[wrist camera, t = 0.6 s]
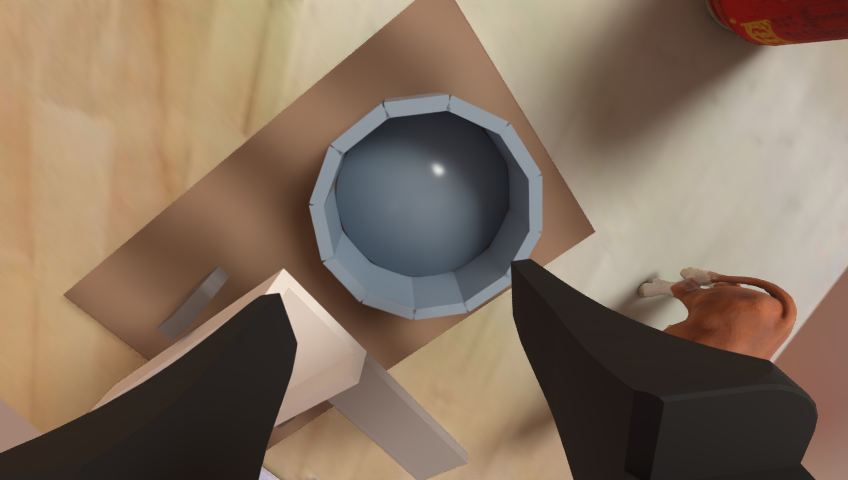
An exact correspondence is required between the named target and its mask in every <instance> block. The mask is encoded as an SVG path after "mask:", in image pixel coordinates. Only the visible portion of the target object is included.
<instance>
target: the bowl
mask: <svg viewBox="0 0 848 480" xmlns="http://www.w3.org/2000/svg"><path fill="white" fill-rule="evenodd" d="M449 111H450V112H449ZM472 122H474V123H476V124H478V125H480V126H482V127H483V128H484V129H485V131H486V133H487V134H488V135H487V134H486V133H485V132H484V131H483V130H481V129H480V128H479V127H478V126H476V125H475V124H474V123H472ZM489 137H490V138H489ZM348 149H349V151H348V153H347V154H346V152H347V150H348ZM345 155H346V156H345ZM501 155H502V156H501ZM344 157H345V159H344ZM502 157H503V158H504V160H505V162H506V163H507V169H508V175H507V171H506V166H505V164H504V161H503V159H502ZM343 160H344V161H343ZM340 168H341V169H340ZM339 171H340V172H339ZM338 174H339V175H338ZM540 174H541V171H540V170H539V168H538V167H537V165H536V163H535V162H534V160H533V159H532V157H531V155H530V154H529V152H528V151H527V149H526V147H525V146H524V144H523V143H522V141H521V139H520V138H519V136H518V135H517V133H516V131H515V130H514V128H513V127H512V125H511V124H510V123H508V121H506V120H504V119H501V118H499V117H497V116H495V115H493V114H491V113H489V112H487V111H484V110H482V109H480V108H478V107H476V106H474V105H472V104H470V103H467V102H465V101H463V100H461V99H459V98H457V97H455V96H453V95H449V94H445V93H440V92H437V93H428V94H420V95H412V96H404V97H395V98H387V99H385V101H383V100H382V101H380V102H379V103H378V104H377V105H375V106H374V107H373V108H372V109H370V110H369V111H368V112H367V113H365V114H364V115H363V116H362V117H360V118H359V119H358V120H357V121H355V122H354V123H353V124H352V125H350V126H349V127H348V128H347V129H345V130H344V131H343V132H342V133H340V135H339V136H338V137H337V138H336V139H335V140H334V141H333V142H332V143H331V145H330V146H329V148H328V151H327V154H326V157H325V160H324V162H323V165H322V168H321V171H320V174H319V177H318V180H317V182H316V185H315V188H314V191H313V194H312V197H311V200H310V202H309V203H310V205H309V208H310V212H311V217H312V221H313V226H314V230H315V234H316V239H317V243H318V248H319V252H320V256H321V261H323V260H324V261H323V264H324V265H325V266H326V267H327V268H328V269H329V270H330V271H331V272H332V273H333V274H334V275H335V277H336V278H337V279H338V280H339V281H340V282H341V283H342V284H343V285H344V286H345V287H346V288H347V289H348V290H349V291H350V292H351V293H352V294H353V295H354V297H355V298H356V299H357V300H358V301H359V302H360V301H362V304H365V305H368V306H371V307H374V308H377V309H380V310H383V311H386V312H389V313H392V314H395V315H399V316H402V317H405V318H408V319H411V320H412V319H413V317H414V319H415V320H420V319H427V318H434V317H441V316H448V315H456V314H463V313H467V310H468V311H469V312H470V311H472V310H473V309H475V308H476V307H478V306H479V305H481V304H482V303H484V302H485V301H487V300H488V299H490V298H491V297H493V296H494V295H496V294H497V293H499V292H500V291H502V290H503V289H505V288H506V287H508V286H509V285H511V262H510V261H516V260H523V259H528V257H529V256H530V254H531V252H532V250H533V248H534V247H535V245H536V243H537V241H538V240H539V238H540V236H541V233H540V231H542V175H540ZM337 177H338V181H337V191H336V195H335V190H334V185H335V182H336V179H337ZM508 200H509V209H508V211H507V206H508ZM506 211H507V213H506ZM505 214H506V215H505ZM341 222H342V225H343V227H344V230H345V232H346V233H347V235H348V236H347V235H346V234H345V233H344V231H343V230H342V225H341ZM490 243H491V244H490ZM489 244H490V246H489V247H488V245H489ZM487 247H488V248H487ZM486 248H487V249H486ZM368 259H369V260H371V261H372V262H374V263H375V264H374V263H371V262H370V261H369V260H368ZM376 264H377V265H376ZM455 269H456V270H455ZM453 270H455V271H453ZM450 271H452V272H450ZM407 275H409V276H407ZM410 276H415V277H410Z"/></svg>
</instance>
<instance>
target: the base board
mask: <svg viewBox="0 0 848 480" xmlns="http://www.w3.org/2000/svg"><path fill="white" fill-rule="evenodd" d="M437 92H440V93H445V94H449V95H453V96H455V97H457V98H459V99H461V100H463V101H465V102H467V103H470V104H472V105H474V106H476V107H478V108H480V109H482V110H484V111H487V112H489V113H491V114H493V115H495V116H497V117H499V118H501V119H504V120H506V121H508V123H510V124H511V125H512V127H513V128H514V130H515V131H516V133H517V135H518V136H519V138H520V139H521V141H522V143H523V144H524V146H525V147H526V149H527V151H528V152H529V154H530V155H531V157H532V159H533V160H534V162H535V163H536V165H537V167H538V168H539V170H540V171H541V174H540V175H542V231H540V233H541V236H540V238H539V240H538V241H537V243H536V245H535V247H534V248H533V250H532V252H531V254H530V256H529V257H528V259H532V260H533V261H535V262H536V263H538V264H539V265H540V266H542V267H543V266H545V265H546V264H548V263H549V262H551V261H552V260H554V259H555V258H557V257H558V256H560V255H561V254H563V253H564V252H566V251H567V250H569V249H570V248H572V247H573V246H575V245H576V244H578V243H579V242H581V241H582V240H584V239H585V238H587V237H588V236H590V235H591V234H593V233H594V232H595V230H594V229H593V227H592V225H591V224H590V222H589V220H588V219H587V217H586V216H585V214H584V212H583V211H582V209H581V207H580V206H579V204H578V202H577V201H576V199H575V197H574V196H573V194H572V192H571V191H570V189H569V187H568V186H567V184H566V183H565V181H564V179H563V178H562V176H561V174H560V173H559V171H558V169H557V168H556V166H555V164H554V163H553V161H552V159H551V158H550V156H549V154H548V153H547V151H546V150H545V148H544V146H543V145H542V143H541V141H540V140H539V138H538V136H537V135H536V133H535V131H534V130H533V128H532V126H531V125H530V123H529V121H528V120H527V118H526V117H525V115H524V113H523V112H522V110H521V108H520V107H519V105H518V103H517V102H516V100H515V98H514V97H513V95H512V93H511V92H510V90H509V88H508V87H507V85H506V84H505V82H504V80H503V79H502V77H501V75H500V74H499V72H498V70H497V69H496V67H495V65H494V64H493V62H492V60H491V59H490V57H489V55H488V54H487V52H486V51H485V49H484V47H483V46H482V44H481V42H480V41H479V39H478V37H477V36H476V34H475V32H474V31H473V29H472V27H471V26H470V24H469V22H468V21H467V19H466V18H465V16H464V14H463V13H462V11H461V9H460V8H459V6H458V4H457V3H456V1H455V0H415V1H414V2H413V3H412V4H410V5H409V6H408V7H407V8H406V9H404V10H403V11H402V12H401V13H400V14H398V15H397V16H396V17H395V18H394V19H392V20H391V21H390V22H389V23H388V24H386V25H385V26H384V27H383V28H382V29H380V30H379V31H378V32H377V33H376V34H374V35H373V36H372V37H371V38H370V39H368V40H367V41H366V42H365V43H364V44H363V45H361V46H360V47H359V48H358V49H357V50H355V51H354V52H353V53H352V54H351V55H349V56H348V57H347V58H346V59H345V60H343V61H342V62H341V63H340V64H339V65H337V66H336V67H335V68H334V69H333V70H331V71H330V72H329V73H328V74H327V75H325V76H324V77H323V78H322V79H321V80H319V81H318V82H317V83H316V84H315V85H313V86H312V87H311V88H310V89H309V90H308V91H306V92H305V93H304V94H303V95H302V96H300V97H299V98H298V99H297V100H296V101H294V102H293V103H292V104H291V105H290V106H288V107H287V108H286V109H285V110H284V111H282V112H281V113H280V114H279V115H278V116H276V117H275V118H274V119H273V120H272V121H270V122H269V123H268V124H267V125H266V126H264V127H263V128H262V129H261V130H260V131H259V132H257V133H256V134H255V135H254V136H253V137H251V138H250V139H249V140H248V141H247V142H245V143H244V144H243V145H242V146H241V147H239V148H238V149H237V150H236V151H235V152H233V153H232V154H231V155H230V156H229V157H227V158H226V159H225V160H224V161H223V162H221V163H220V164H219V165H218V166H217V167H215V168H214V169H213V170H212V171H211V172H209V173H208V174H207V175H206V176H205V177H204V178H202V179H201V180H200V181H199V182H198V183H196V184H195V185H194V186H193V187H192V188H190V189H189V190H188V191H187V192H186V193H184V194H183V195H182V196H181V197H180V198H178V199H177V200H176V201H175V202H174V203H172V204H171V205H170V206H169V207H168V208H166V209H165V210H164V211H163V212H162V213H160V214H159V215H158V216H157V217H156V218H154V219H153V220H152V221H151V222H150V223H149V224H147V225H146V226H145V227H144V228H143V229H141V230H140V231H139V232H138V233H137V234H135V235H134V236H133V237H132V238H131V239H129V240H128V241H127V242H126V243H125V244H123V245H122V246H121V247H120V248H119V249H117V250H116V251H115V252H114V253H113V254H111V255H110V256H109V257H108V258H107V259H105V260H104V261H103V262H102V263H101V264H100V265H98V266H97V267H96V268H95V269H94V270H92V271H91V272H90V273H89V274H88V275H86V276H85V277H84V278H83V279H82V280H80V281H79V282H78V283H77V284H76V285H74V286H73V287H72V288H71V289H70V290H68V291H67V292H66V293H65V294H64V296H65V297H67V298H68V299H69V300H71V301H72V302H73V303H75V304H76V305H77V306H78V307H80V308H81V309H82V310H84V311H85V312H86V313H88V314H89V315H90V316H91V317H93V318H94V319H95V320H97V321H98V322H99V323H101V324H102V325H103V326H104V327H106V328H107V329H108V330H110V331H111V332H112V333H114V334H115V335H116V336H118V337H119V338H120V339H121V340H123V341H124V342H125V343H127V344H128V345H129V346H131V347H132V348H133V349H134V350H136V351H137V352H138V353H140V354H141V355H142V356H144V357H145V358H146V359H147V360H149V361H150V360H152V359H153V358H155V357H156V356H157V355H159V354H160V353H162V352H163V351H165V350H166V349H168V348H169V347H170V346H172V345H173V344H175V343H176V342H178V341H179V340H181V339H182V338H183V337H185V336H186V335H188V334H189V333H191V332H192V331H193V330H195V329H196V328H197V327H198V326H200V325H202V324H204V323H205V322H207V321H208V320H209V319H211V318H212V317H214V316H215V315H217V314H218V313H220V312H221V311H222V310H224V309H225V308H227V307H228V306H230V305H231V304H233V303H234V302H235V301H237V300H238V299H240V298H241V297H243V296H244V295H246V294H247V293H248V292H250V291H251V290H253V289H254V288H256V287H257V286H259V285H260V284H261V283H263V282H264V281H266V280H267V279H269V278H270V277H272V276H273V275H274V274H276V273H277V272H279V271H280V270H282V269H283V268H284V269H285V270H286V271H287V272H288V273H289V274H290V275H291V276H292V277H293V278H294V279H295V280H296V281H297V282H298V283H299V284H300V285H301V286H302V287H303V288H304V289H305V290H306V291H307V292H308V293H309V294H310V295H311V296H312V297H313V298H314V299H315V300H316V301H317V302H318V303H319V304H320V305H321V306H322V307H323V308H324V309H325V310H326V311H327V312H328V313H329V314H330V315H331V316H332V317H333V318H334V319H335V320H336V321H337V322H338V323H339V324H340V325H341V326H342V327H343V328H344V329H345V330H346V331H347V332H348V333H349V334H350V335H351V336H352V337H353V338H354V339H355V340H356V341H357V342H358V343H359V344H360V345H361V346H362V347H363V348H364V349H365V350H366V351H367V352H368V353H369V354H370V355H371V356H372V357H373V358H374V359H375V360H376V361H377V362H378V363H379V364H380V365H381V366H382V367H383V368H384V369H385V370H386V371H387V370H388V369H390V368H391V367H393V366H394V365H396V364H397V363H399V362H400V361H402V360H403V359H405V358H406V357H408V356H409V355H411V354H412V353H414V352H415V351H417V350H418V349H420V348H421V347H423V346H424V345H426V344H427V343H429V342H430V341H432V340H433V339H435V338H436V337H438V336H439V335H441V334H442V333H444V332H445V331H447V330H448V329H450V328H451V327H453V326H454V325H456V324H457V323H459V322H460V321H462V320H463V319H465V318H466V317H468V316H469V315H471V314H472V313H474V312H475V311H477V310H478V309H480V308H481V307H483V306H485V305H486V304H488V303H489V302H491V301H492V300H494V299H495V298H497V297H498V296H500V295H501V294H503V293H504V292H506V291H507V290H509V289H510V288H512V284H511V285H509V286H508V287H506V288H505V289H503V290H502V291H500V292H499V293H497V294H496V295H494V296H493V297H491V298H490V299H488V300H487V301H485V302H484V303H482V304H481V305H479V306H478V307H476V308H475V309H473V310H472V311H470V312H469V311H468V310H467V313H463V314H456V315H448V316H441V317H434V318H427V319H420V320H415V319H414V317H413V319H412V320H411V319H408V318H405V317H402V316H399V315H395V314H392V313H389V312H386V311H383V310H380V309H377V308H374V307H371V306H368V305H365V304H362V301H360V302H359V301H358V300H357V299H356V298H355V297H354V295H353V294H352V293H351V292H350V291H349V290H348V289H347V288H346V287H345V286H344V285H343V284H342V283H341V282H340V281H339V280H338V279H337V278H336V277H335V275H334V274H333V273H332V272H331V271H330V270H329V269H328V268H327V267H326V266H325V265H324V264H323V261H324V260H323V261H321V256H320V252H319V248H318V243H317V239H316V234H315V230H314V226H313V221H312V217H311V212H310V208H309V205H310V203H309V202H310V200H311V197H312V194H313V191H314V188H315V185H316V182H317V180H318V177H319V174H320V171H321V168H322V165H323V162H324V160H325V157H326V154H327V151H328V148H329V146H330V145H331V143H332V142H333V141H334V140H335V139H336V138H337V137H338V136H339V135H340V133H342V132H343V131H344V130H345V129H347V128H348V127H349V126H350V125H352V124H353V123H354V122H355V121H357V120H358V119H359V118H360V117H362V116H363V115H364V114H365V113H367V112H368V111H369V110H370V109H372V108H373V107H374V106H375V105H377V104H378V103H379V102H380V101H382V100H383V101H385V99H387V98H395V97H404V96H412V95H420V94H428V93H437ZM449 112H450V111H449ZM472 123H474V122H472ZM474 124H475V125H476V126H478V127H479V128H480V129H481V130H483V131H484V132H485V133H486V131H485V129H484V128H483V127H482V126H480V125H478V124H476V123H474ZM486 134H487V133H486ZM487 135H488V134H487ZM489 138H490V137H489ZM348 151H349V149H348V150H347V152H346V154H347V153H348ZM345 156H346V155H345ZM501 156H502V155H501ZM344 159H345V157H344ZM502 159H503V161H504V164H505V166H506V171H507V175H508V169H507V163H506V162H505V160H504V158H503V157H502ZM343 161H344V160H343ZM340 169H341V168H340ZM339 172H340V171H339ZM338 175H339V174H338ZM337 181H338V177H337V179H336V182H335V185H334V190H335V195H336V191H337ZM508 209H509V200H508V206H507V211H508ZM507 211H506V213H507ZM505 215H506V214H505ZM341 225H342V222H341ZM342 230H343V231H344V233H345V234H346V235H347V233H346V232H345V230H344V227H343V225H342ZM347 236H348V235H347ZM490 244H491V243H490ZM490 244H489V245H488V247H489V246H490ZM488 247H487V248H488ZM487 248H486V249H487ZM368 260H369V259H368ZM369 261H370V262H371V263H374V262H372V261H371V260H369ZM374 264H375V263H374ZM376 265H377V264H376ZM455 270H456V269H455ZM455 270H453V271H455ZM450 272H452V271H450ZM407 276H409V275H407ZM410 277H415V276H410ZM331 407H333V405H332V404H331V403H330V402H329V401H328V400H325V401H323V402H321V403H319V404H317V405H315V406H313V407H311V408H309V409H308V410H306V411H304V412H302V413H300V414H298V415H296V416H294V417H292V418H290V419H288V420H286V421H284V422H282V423H281V424H279V425H277V426H275V427H273V430H272V433H271V436H270V439H269V442H268V445H267V449H266V450H268V449H269V448H271V447H272V446H274V445H275V444H277V443H278V442H280V441H281V440H283V439H284V438H286V437H287V436H289V435H290V434H292V433H293V432H295V431H296V430H298V429H299V428H301V427H302V426H304V425H305V424H307V423H308V422H310V421H311V420H313V419H314V418H316V417H317V416H319V415H320V414H322V413H323V412H325V411H326V410H328V409H329V408H331Z"/></svg>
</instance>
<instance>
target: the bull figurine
mask: <svg viewBox="0 0 848 480" xmlns="http://www.w3.org/2000/svg"><path fill="white" fill-rule="evenodd" d="M680 274H681V276H682V277H683V278H684V279H685V280H684V281H682V282H668V281H664V280H660V279H658V278H654V279H653V283H643V284H642V285H641V286H640V287H639V294H640V295H641V296H642V297H644V298H646V297H653V296H657V295H670V296H673V297H676V298H677V299H679V300H680V301H681V302H682V303H683V304H684V305H685V306H686V308H687V310H688V313H689V315H688V318H687V319H686V320H685V321H682V322H680V323H677V324H674V325H669V326H668V327H667V328H666V329H665V330H664V331H663V332H666V333H668V334H671V335H674V336H677V337H681V338H684V339H687V340H690V341H694V342H697V343H700V344H704V345H707V346H711V347H714V348H718V349H722V350H727V351H731V352H736V353H740V354H744V355H749V356H753V357H758V358H762V359H766V360H770V359H771V357H772V356H773V355H774V353H775V352H776V351H777V350H778V349H779V347H780V346H781V345H782V344H783V343H784V342H785V340H786V339H787V338H788V336H789V335H790V333H791V331H792V329H793V326H794V323H795V321H796V315H797V309H796V306H795V303H794V301H793V299H792V297H791V296H790V295H789V294H788V293H787V292H785V291H784V290H783V289H781V288H780V287H778V286H777V285H775V284H772V283H770V282H767V281H764V280H760V279H757V278H750V277H737V276H725V275H721V274H717V273H714V272H711V271H708V270H704V269H699V268H693V267H690V268H687V269H682V270H681V272H680ZM740 284H747V285H753V286H756V287H759V288H762V289H764V290H765V291H766V292H768V293H769V294H770V295H771V296H770V295H768V294H766V293H763V292H759V291H756V290H752V289H748V288H743V287H741V286H740ZM701 285H702V286H707V287H710V288H709V289H702V288H700V286H701Z"/></svg>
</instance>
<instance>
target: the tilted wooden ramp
mask: <svg viewBox="0 0 848 480" xmlns="http://www.w3.org/2000/svg"><path fill="white" fill-rule="evenodd" d="M273 293H280V295H281V298H282V300H283V303H284V306H285V309H286V312H287V315H288V317H289V320H290V323H291V326H292V329H293V332H294V334H295V337H296V340H297V343H298V345H297V351H296V357H295V362H294V367H293V372H292V375H291V378H290V381H289V384H288V387H287V390H286V393H285V396H284V399H283V402H282V405H281V407H280V410H279V413H278V416H277V419H276V422H275V425H274V427H275V426H277V425H279V424H281V423H282V422H284V421H286V420H288V419H290V418H292V417H294V416H296V415H298V414H300V413H302V412H304V411H306V410H308V409H309V408H311V407H313V406H315V405H317V404H319V403H321V402H323V401H325V400H328V401H329V402H330V403H331V404H332V405H333V406H334V407H335V408H337V409H338V410H339V411H340V412H341V413H342V414H343V415H344V416H346V417H347V418H348V419H349V420H350V421H351V422H352V423H353V424H355V425H356V426H357V427H358V428H359V429H360V430H361V431H362V432H364V433H365V434H366V435H367V436H368V437H369V438H370V439H371V440H373V441H374V442H375V443H376V444H377V445H378V446H379V447H380V448H382V449H383V450H384V451H385V452H386V453H387V454H388V455H389V456H391V457H392V458H393V459H394V460H395V461H396V462H397V463H398V464H399V465H401V466H402V467H403V468H404V469H405V470H406V471H407V472H408V473H410V474H411V475H412V476H413V477H414V478H415V479H416V480H426V479H428V478H431V477H433V476H436V475H439V474H441V473H444V472H446V471H449V470H451V469H454V468H456V467H459V466H462V465H464V464H467V463H468V458H467V451H466V450H465V449H464V448H463V447H462V446H461V445H460V444H459V443H458V442H457V441H456V440H455V439H454V438H453V437H452V436H451V435H450V434H449V433H448V432H447V431H446V430H445V429H444V428H443V427H442V426H441V425H440V424H439V423H438V422H437V421H436V420H435V419H434V418H433V417H432V416H431V415H430V414H429V413H428V412H427V411H426V410H425V409H424V408H423V407H422V406H421V405H420V404H419V403H418V402H417V401H416V400H415V399H414V398H413V397H412V396H411V395H410V394H409V393H408V392H407V391H406V390H405V389H404V388H403V387H402V386H401V385H400V384H399V383H398V382H397V381H396V380H395V379H394V378H393V377H392V376H391V375H390V374H389V373H388V372H387V371H386V370H385V369H384V368H383V367H382V366H381V365H380V364H379V363H378V362H377V361H376V360H375V359H374V358H373V357H372V356H371V355H370V354H369V353H368V352H367V351H366V350H365V349H364V348H363V347H362V346H361V345H360V344H359V343H358V342H357V341H356V340H355V339H354V338H353V337H352V336H351V335H350V334H349V333H348V332H347V331H346V330H345V329H344V328H343V327H342V326H341V325H340V324H339V323H338V322H337V321H336V320H335V319H334V318H333V317H332V316H331V315H330V314H329V313H328V312H327V311H326V310H325V309H324V308H323V307H322V306H321V305H320V304H319V303H318V302H317V301H316V300H315V299H314V298H313V297H312V296H311V295H310V294H309V293H308V292H307V291H306V290H305V289H304V288H303V287H302V286H301V285H300V284H299V283H298V282H297V281H296V280H295V279H294V278H293V277H292V276H291V275H290V274H289V273H288V272H287V271H286V270H285V269H284V268H283V269H282V270H280V271H279V272H277V273H276V274H274V275H273V276H272V277H270V278H269V279H267V280H266V281H264V282H263V283H261V284H260V285H259V286H257V287H256V288H254V289H253V290H251V291H250V292H248V293H247V294H246V295H244V296H243V297H241V298H240V299H238V300H237V301H235V302H234V303H233V304H231V305H230V306H228V307H227V308H225V309H224V310H222V311H221V312H220V313H218V314H217V315H215V316H214V317H212V318H211V319H209V320H208V321H207V322H205V323H204V324H202V325H200V326H198V327H197V328H196V329H195V330H193V331H192V332H191V333H189V334H188V335H186V336H185V337H183V338H182V339H181V340H179V341H178V342H176V343H175V344H173V345H172V346H170V347H169V348H168V349H166V350H165V351H163V352H162V353H160V354H159V355H157V356H156V357H155V358H153V359H152V360H150V361H149V362H147V363H146V364H144V365H143V366H142V367H140V368H139V369H137V370H136V371H134V372H133V373H131V374H130V375H129V376H127V377H126V378H124V379H123V380H121V381H120V382H118V383H117V384H116V385H114V386H113V387H112V388H111V389H110V390H109V391H108V393H107V394H106V395H105V396H104V397H103V398H102V399H101V400H100V401H99V402H98V403H97V404H96V405H95V406H94V407H93V408H92V409H91V410H90V411H89V412H91V411H93V410H95V409H97V408H99V407H101V406H102V405H104V404H106V403H108V402H109V401H111V400H113V399H115V398H116V397H118V396H120V395H122V394H124V393H125V392H127V391H129V390H131V389H132V388H134V387H136V386H138V385H139V384H141V383H143V382H144V381H146V380H147V379H149V378H150V377H152V376H154V375H155V374H157V373H158V372H160V371H161V370H163V369H164V368H166V367H167V366H169V365H170V364H172V363H173V362H175V361H176V360H177V359H179V358H180V357H182V356H183V355H184V354H186V353H187V352H188V351H190V350H191V349H192V348H194V347H195V346H196V345H197V344H199V343H200V342H201V341H203V340H204V339H205V338H207V337H208V336H209V335H211V334H212V333H213V332H214V331H216V330H217V329H218V328H219V327H220V326H222V325H223V324H224V323H225V322H227V321H228V320H229V319H230V318H232V317H233V316H234V315H235V314H236V313H238V312H239V311H240V310H241V309H243V308H244V307H245V306H246V305H248V304H249V303H250V302H252V301H253V300H254V299H256V298H257V297H259V296H260V295H266V294H273Z"/></svg>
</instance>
